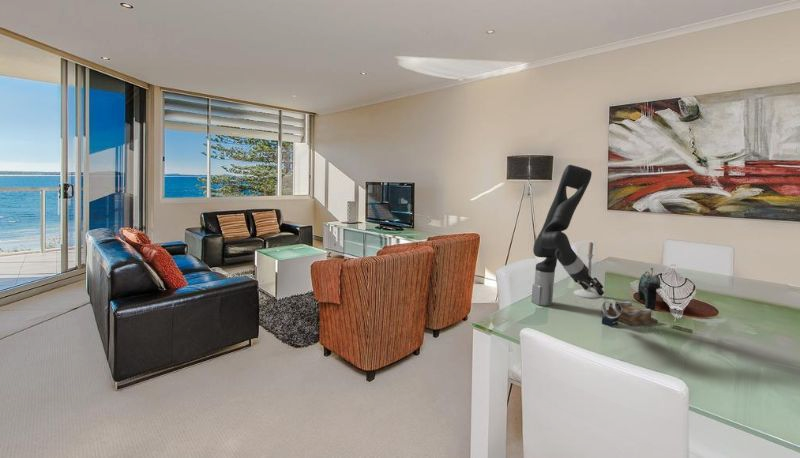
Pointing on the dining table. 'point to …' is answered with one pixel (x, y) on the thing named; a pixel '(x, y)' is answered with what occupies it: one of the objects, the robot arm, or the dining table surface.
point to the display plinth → (632, 314)
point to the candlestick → (588, 292)
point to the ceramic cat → (648, 289)
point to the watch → (610, 319)
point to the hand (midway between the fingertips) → (594, 291)
